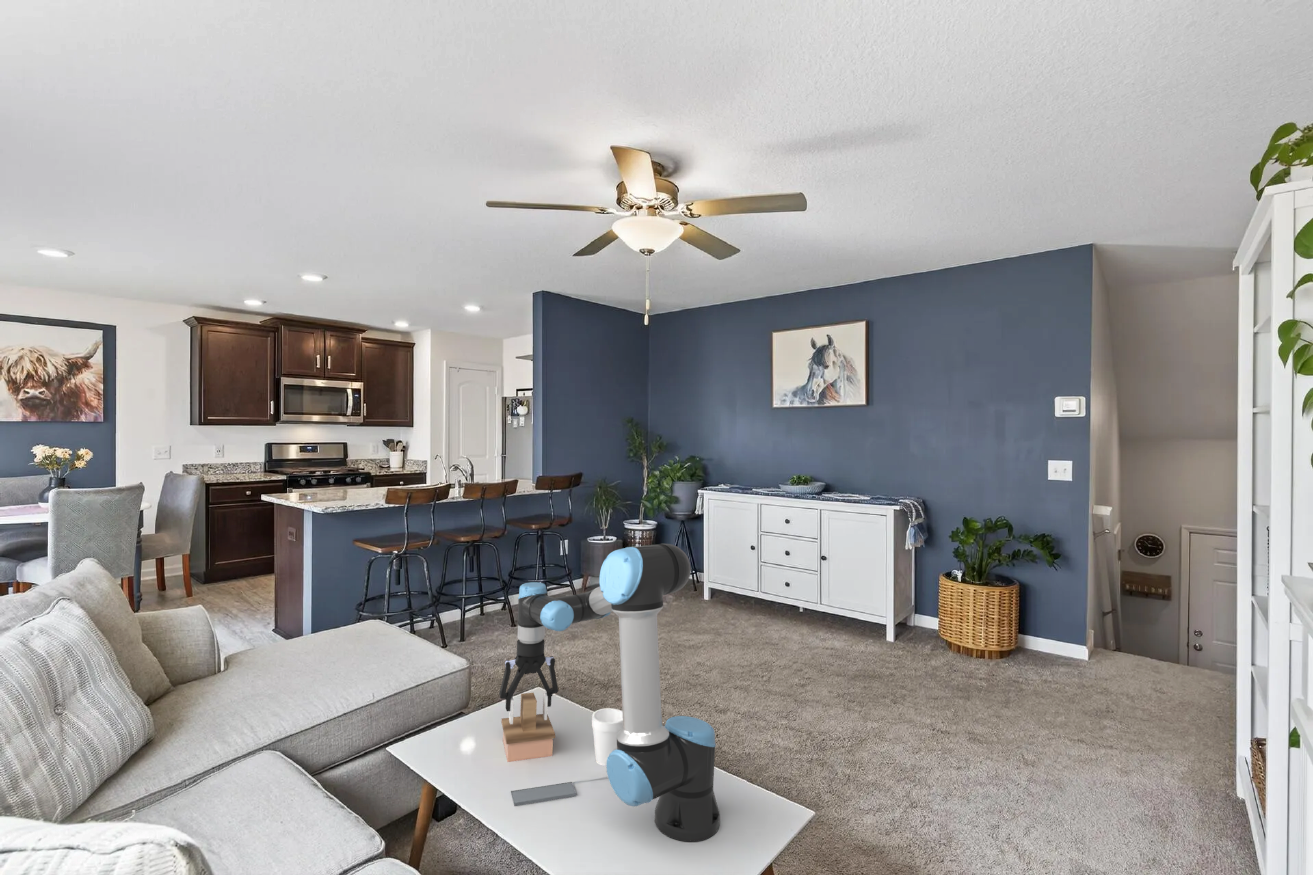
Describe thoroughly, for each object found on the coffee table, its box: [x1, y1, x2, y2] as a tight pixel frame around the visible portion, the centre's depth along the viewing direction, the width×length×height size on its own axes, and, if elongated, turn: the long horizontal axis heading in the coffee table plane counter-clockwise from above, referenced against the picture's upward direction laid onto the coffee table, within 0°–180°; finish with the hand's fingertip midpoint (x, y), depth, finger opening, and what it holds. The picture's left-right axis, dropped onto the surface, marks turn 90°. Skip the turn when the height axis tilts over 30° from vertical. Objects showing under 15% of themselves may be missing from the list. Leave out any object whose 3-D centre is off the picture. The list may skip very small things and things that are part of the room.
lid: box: [500, 692, 556, 744], centre depth 176 cm, size 13×13×9 cm
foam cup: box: [591, 707, 623, 767], centre depth 172 cm, size 10×9×13 cm
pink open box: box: [502, 731, 554, 763], centre depth 176 cm, size 12×12×6 cm
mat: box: [510, 781, 577, 807], centre depth 161 cm, size 17×15×1 cm
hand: (528, 719), depth 176 cm, fingers open, 9 cm apart
